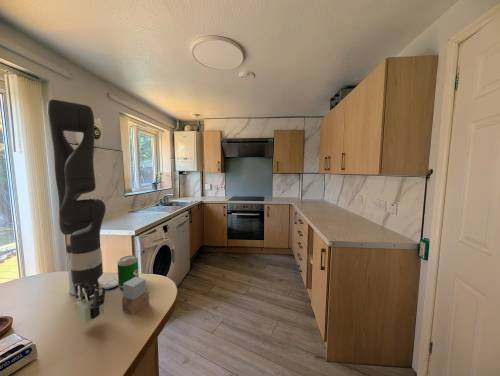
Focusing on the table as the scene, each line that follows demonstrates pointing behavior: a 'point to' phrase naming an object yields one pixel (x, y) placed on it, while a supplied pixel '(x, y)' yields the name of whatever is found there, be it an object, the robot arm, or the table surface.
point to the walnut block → (135, 303)
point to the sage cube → (85, 310)
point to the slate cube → (134, 288)
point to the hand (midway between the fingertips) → (90, 313)
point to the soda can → (127, 269)
